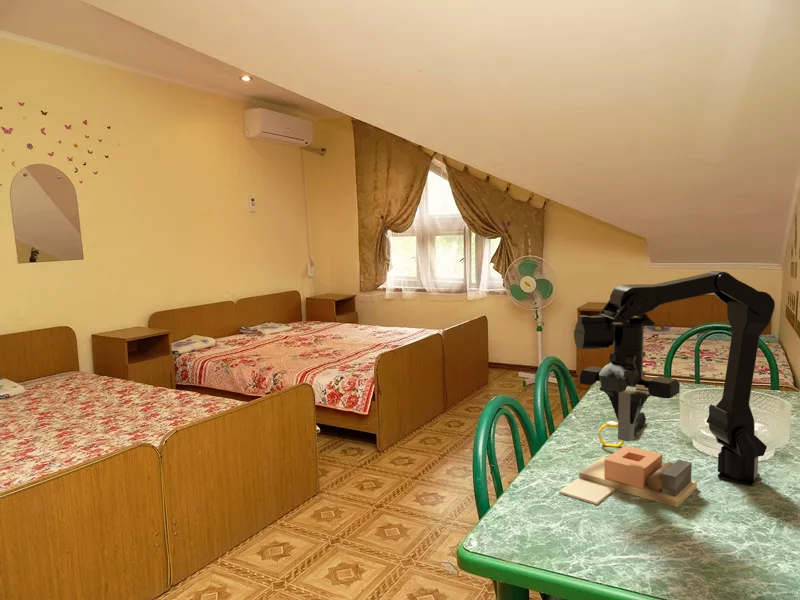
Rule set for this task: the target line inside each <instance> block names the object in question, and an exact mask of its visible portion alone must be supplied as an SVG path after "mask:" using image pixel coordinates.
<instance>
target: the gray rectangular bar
mask: <svg viewBox="0 0 800 600" xmlns="http://www.w3.org/2000/svg"><path fill="white" fill-rule="evenodd" d="M634 392H636V390H628V389H626V390H625V391H623V392H619V407H618V420H617V423H618V428H617V440H620V441H622V440H623V441H624V442H629V443H630V442H631V441H633V440H635V439H634V426H635V423H634V424H631V409H632V398H631V395H630V394H632V393H634Z"/></svg>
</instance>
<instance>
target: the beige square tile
mask: <svg viewBox="0 0 800 600" xmlns="http://www.w3.org/2000/svg"><path fill="white" fill-rule="evenodd" d="M615 491H616V490H615V489H614V488H611V487H607V486H604V485H600V484H597V483H593V482H590V481H586V480H583V479H580V478H576V479H575V480H573V481H572V482H570V483H569V484H567V485H566V486H565V487H563V488H561V489H560V490H559V494H562V495H565V496H568V497H570V498H573V499H576V500H577V499H578V500H581V501H584V502H587V503H590V504H594V505H598V504H600V503H602V501H603V500H605V499H606V498H607V497H609V496H610V495H611V494H612V493H613V492H615Z"/></svg>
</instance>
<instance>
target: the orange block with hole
mask: <svg viewBox="0 0 800 600" xmlns="http://www.w3.org/2000/svg"><path fill="white" fill-rule="evenodd" d="M605 458H606V459H604V478H607V479H610V480H614V481H617V482H621V483H624V484H628V485H632V486H635V487H639V488H642V489H643V488H645V487H646V486H647V483H646V481H647V478H648V477H649V476H651V475H652V474H653V473H654V472H655V471H657V470H658V469H659V468H660V467H662V466H663V453H658V452H654V451H650V450H646V449H641V448H637V447H632V446H627V445H623V446H622V447H620V448H619V449H617V450H616V451H614V452H613V453H612V454H610V455H609V456H608V457H605Z"/></svg>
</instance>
